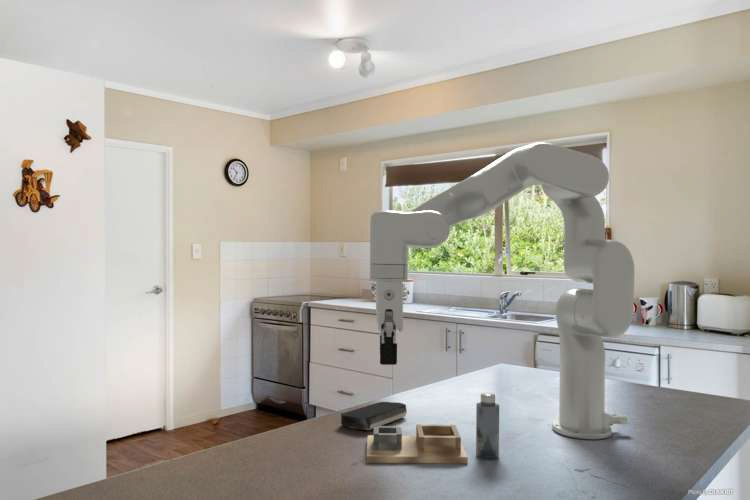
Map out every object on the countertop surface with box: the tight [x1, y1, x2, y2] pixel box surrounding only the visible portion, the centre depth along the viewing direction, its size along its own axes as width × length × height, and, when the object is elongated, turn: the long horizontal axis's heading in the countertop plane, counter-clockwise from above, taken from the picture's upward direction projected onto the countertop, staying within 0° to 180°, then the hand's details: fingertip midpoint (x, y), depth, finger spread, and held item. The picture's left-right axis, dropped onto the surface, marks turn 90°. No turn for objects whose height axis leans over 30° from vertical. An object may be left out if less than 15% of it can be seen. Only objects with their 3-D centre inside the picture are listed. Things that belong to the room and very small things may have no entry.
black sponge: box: [340, 401, 408, 431], centre depth 133 cm, size 16×8×4 cm, turn 140°
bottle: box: [475, 392, 500, 461], centre depth 112 cm, size 4×4×12 cm
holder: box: [366, 424, 469, 465], centre depth 114 cm, size 19×12×4 cm, turn 90°
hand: (388, 359), depth 114 cm, fingers open, 9 cm apart
